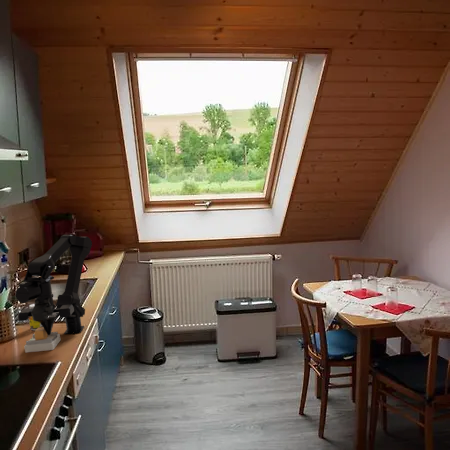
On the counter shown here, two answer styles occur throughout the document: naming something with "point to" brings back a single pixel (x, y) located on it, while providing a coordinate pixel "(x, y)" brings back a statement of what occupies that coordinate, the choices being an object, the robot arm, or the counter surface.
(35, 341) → the grey stepped platform
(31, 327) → the supplement bottle
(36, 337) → the orange block
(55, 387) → the counter surface
